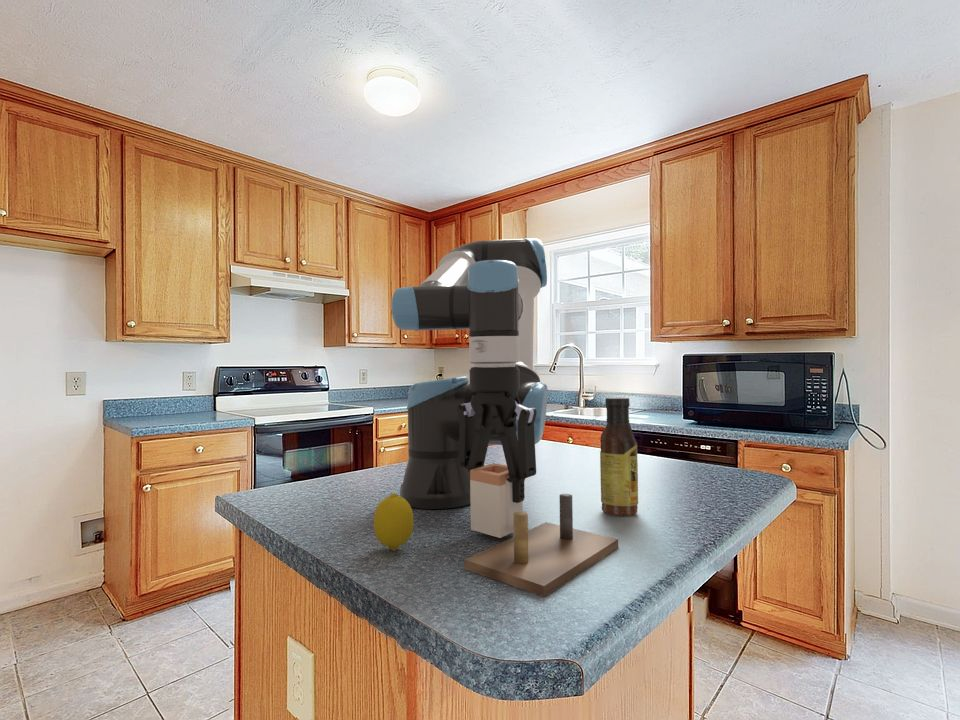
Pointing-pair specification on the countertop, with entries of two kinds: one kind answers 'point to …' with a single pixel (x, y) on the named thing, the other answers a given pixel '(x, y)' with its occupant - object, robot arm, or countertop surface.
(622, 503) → the sauce bottle
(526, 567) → the pin board
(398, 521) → the lemon
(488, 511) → the sleeve
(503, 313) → the robot arm
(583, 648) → the countertop surface
